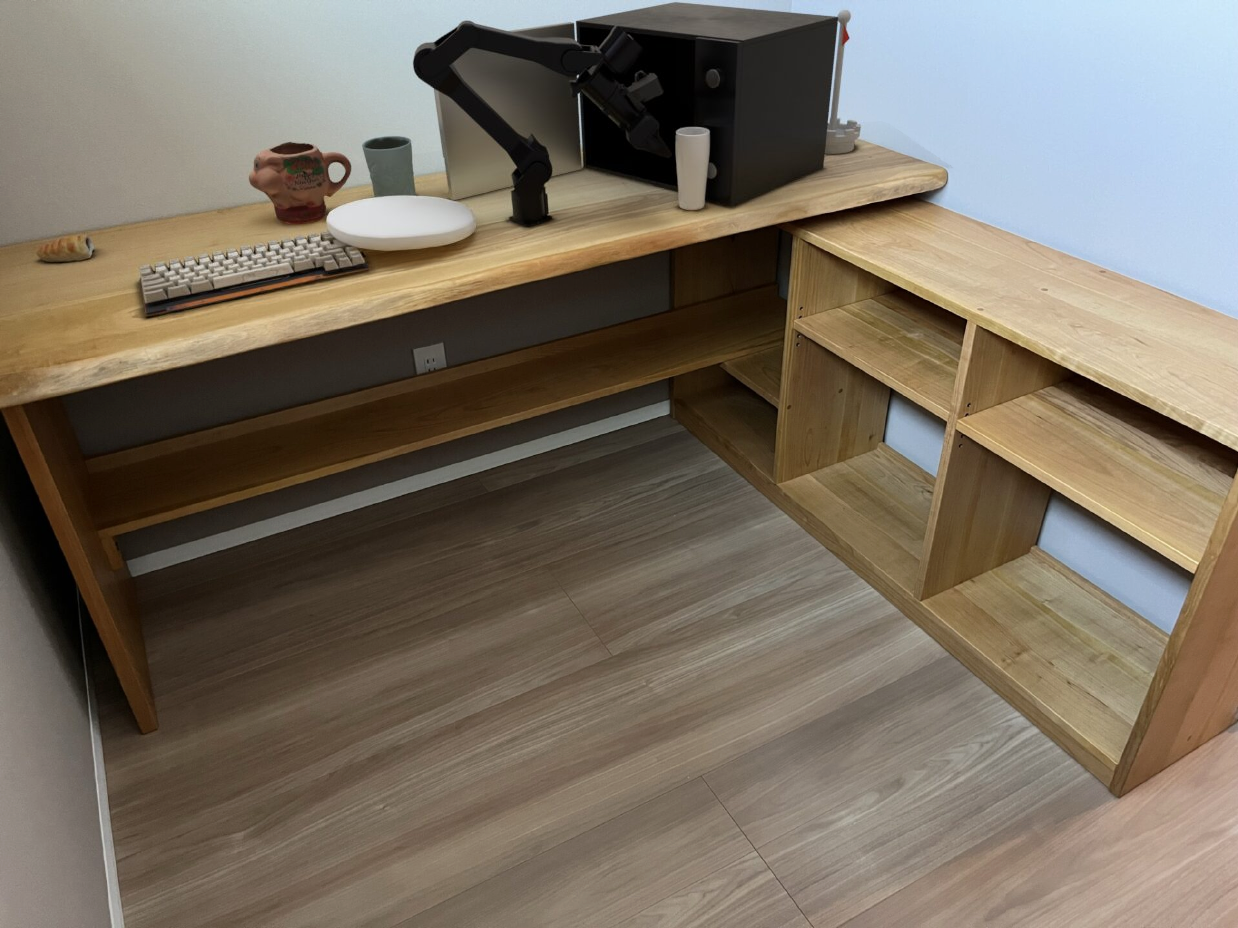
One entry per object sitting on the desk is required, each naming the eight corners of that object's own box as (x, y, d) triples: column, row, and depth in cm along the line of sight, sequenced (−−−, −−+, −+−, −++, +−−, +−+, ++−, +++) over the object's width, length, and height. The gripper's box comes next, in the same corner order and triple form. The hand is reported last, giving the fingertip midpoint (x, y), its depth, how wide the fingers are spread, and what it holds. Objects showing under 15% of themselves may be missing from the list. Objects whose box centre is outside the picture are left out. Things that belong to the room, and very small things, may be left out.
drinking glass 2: (690, 199, 186) (691, 125, 178) (715, 206, 182) (717, 130, 174) (668, 207, 183) (668, 132, 174) (693, 214, 179) (694, 137, 170)
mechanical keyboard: (146, 318, 145) (139, 299, 143) (138, 279, 159) (132, 261, 157) (375, 271, 159) (371, 253, 157) (349, 240, 173) (346, 223, 171)
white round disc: (419, 183, 184) (506, 212, 170) (419, 215, 187) (504, 246, 173) (296, 196, 165) (381, 230, 150) (298, 231, 168) (382, 267, 154)
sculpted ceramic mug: (351, 199, 193) (338, 133, 185) (365, 215, 184) (352, 146, 176) (256, 216, 186) (238, 147, 178) (265, 233, 177) (247, 162, 169)
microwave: (728, 209, 181) (735, 42, 163) (575, 170, 206) (567, 22, 189) (823, 168, 202) (838, 17, 184) (674, 138, 227) (675, 2, 210)
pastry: (36, 266, 165) (28, 247, 163) (44, 254, 171) (36, 235, 169) (92, 259, 168) (84, 239, 166) (97, 247, 173) (90, 228, 171)
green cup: (404, 189, 198) (395, 133, 191) (429, 199, 192) (420, 141, 185) (363, 200, 193) (352, 143, 186) (387, 210, 186) (377, 151, 180)
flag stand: (796, 142, 220) (807, 7, 204) (848, 139, 221) (863, 4, 205) (811, 156, 210) (824, 15, 193) (865, 153, 211) (883, 12, 194)
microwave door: (437, 193, 195) (415, 39, 177) (564, 163, 211) (556, 19, 194) (453, 200, 190) (431, 43, 173) (581, 169, 206) (574, 23, 189)
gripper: (646, 69, 158) (705, 129, 165) (628, 51, 173) (683, 106, 180) (604, 119, 161) (664, 175, 169) (590, 96, 176) (646, 149, 184)
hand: (665, 150), depth 175 cm, fingers open, 9 cm apart
